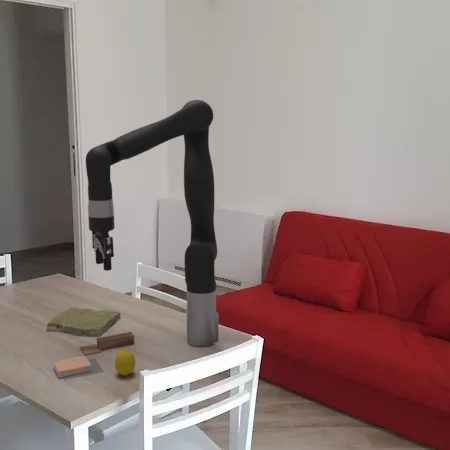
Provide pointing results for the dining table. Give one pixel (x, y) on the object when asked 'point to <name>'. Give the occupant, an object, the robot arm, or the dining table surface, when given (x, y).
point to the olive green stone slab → (83, 322)
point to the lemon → (125, 362)
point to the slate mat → (95, 369)
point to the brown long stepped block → (108, 343)
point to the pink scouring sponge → (72, 366)
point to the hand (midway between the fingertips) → (103, 266)
